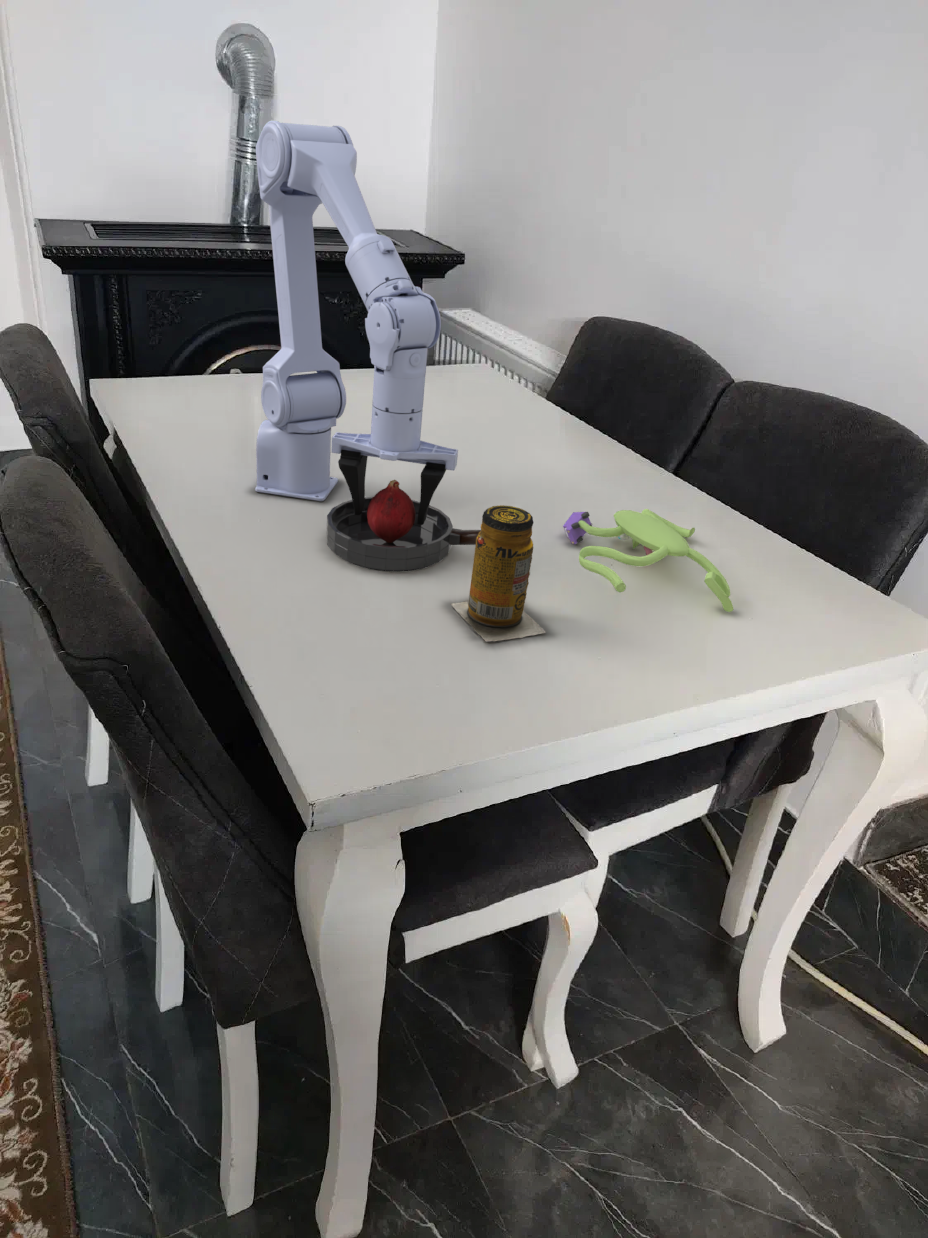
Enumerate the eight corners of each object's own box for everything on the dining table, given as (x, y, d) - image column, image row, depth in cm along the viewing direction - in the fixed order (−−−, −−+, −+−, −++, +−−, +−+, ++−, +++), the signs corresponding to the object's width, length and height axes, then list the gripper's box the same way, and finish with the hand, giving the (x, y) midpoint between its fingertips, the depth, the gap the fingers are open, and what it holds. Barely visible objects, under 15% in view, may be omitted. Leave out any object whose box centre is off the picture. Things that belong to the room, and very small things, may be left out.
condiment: (508, 597, 104) (521, 498, 98) (546, 634, 98) (563, 530, 92) (450, 605, 101) (460, 504, 95) (485, 644, 95) (498, 538, 89)
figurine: (577, 615, 102) (586, 570, 99) (552, 518, 125) (558, 479, 122) (740, 627, 103) (752, 583, 100) (684, 529, 126) (693, 491, 124)
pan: (311, 562, 107) (312, 536, 105) (344, 513, 120) (345, 489, 118) (438, 582, 105) (441, 555, 104) (457, 530, 118) (460, 506, 117)
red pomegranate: (406, 556, 109) (410, 493, 105) (359, 548, 110) (362, 485, 106) (417, 537, 114) (422, 476, 110) (373, 529, 115) (376, 468, 111)
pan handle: (443, 546, 110) (445, 522, 109) (446, 539, 112) (448, 515, 111) (523, 558, 110) (526, 534, 108) (524, 551, 111) (528, 527, 110)
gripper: (325, 406, 101) (322, 520, 108) (455, 425, 100) (444, 538, 107) (341, 390, 107) (338, 498, 114) (464, 407, 106) (453, 515, 113)
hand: (390, 516), depth 111 cm, fingers open, 7 cm apart
